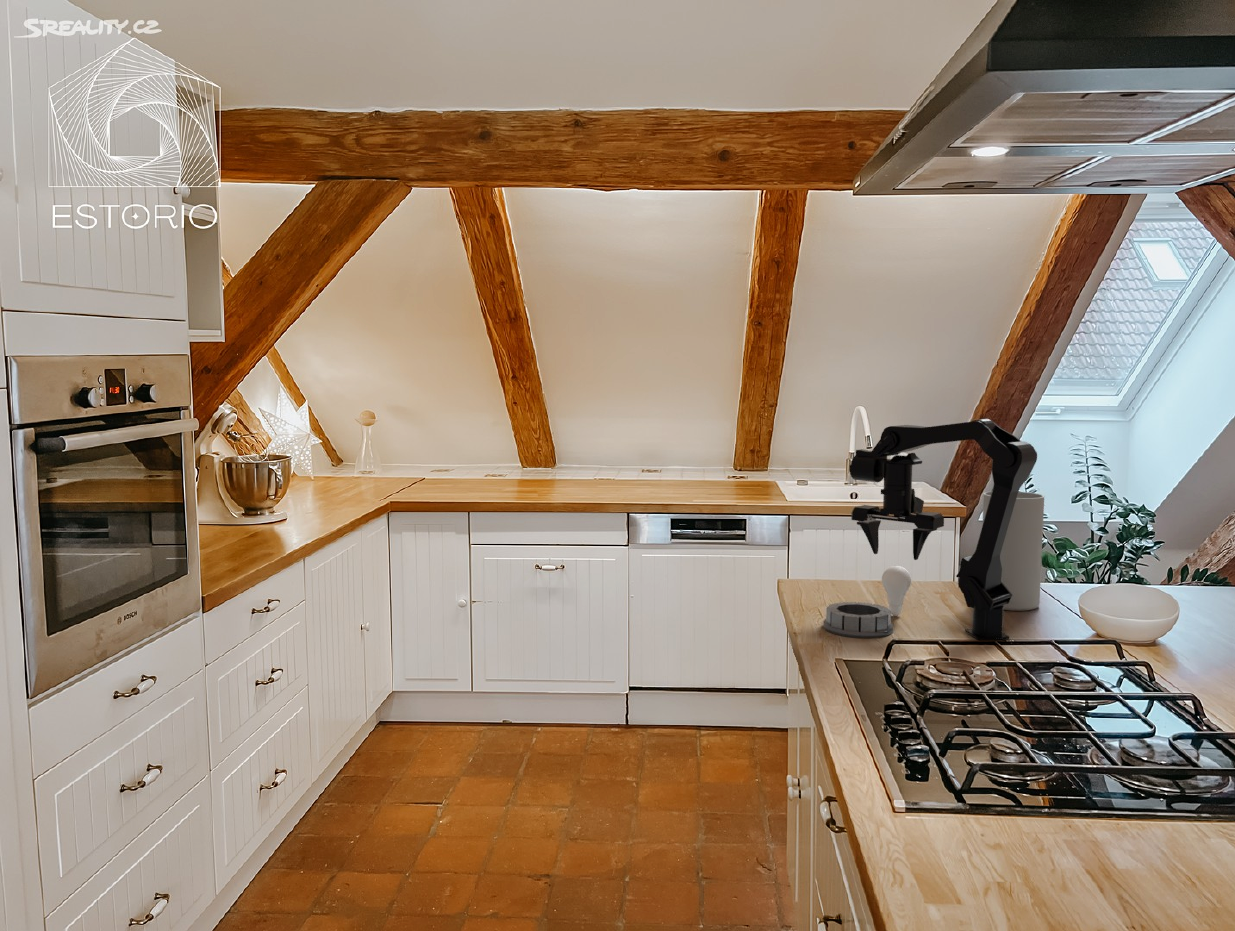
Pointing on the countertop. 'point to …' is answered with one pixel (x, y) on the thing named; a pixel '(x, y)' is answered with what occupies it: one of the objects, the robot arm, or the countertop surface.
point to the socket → (858, 620)
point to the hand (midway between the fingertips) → (895, 556)
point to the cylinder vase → (1022, 551)
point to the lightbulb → (896, 587)
